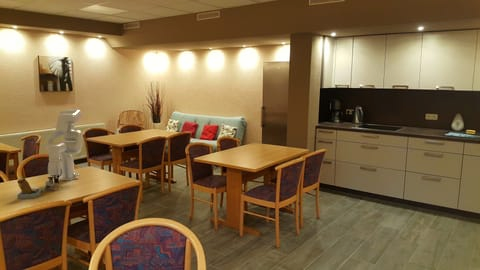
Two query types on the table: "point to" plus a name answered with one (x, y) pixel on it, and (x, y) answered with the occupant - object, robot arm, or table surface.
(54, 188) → the crank base
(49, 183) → the crank
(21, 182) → the condiment
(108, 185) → the table surface
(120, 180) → the table surface
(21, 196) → the tray
